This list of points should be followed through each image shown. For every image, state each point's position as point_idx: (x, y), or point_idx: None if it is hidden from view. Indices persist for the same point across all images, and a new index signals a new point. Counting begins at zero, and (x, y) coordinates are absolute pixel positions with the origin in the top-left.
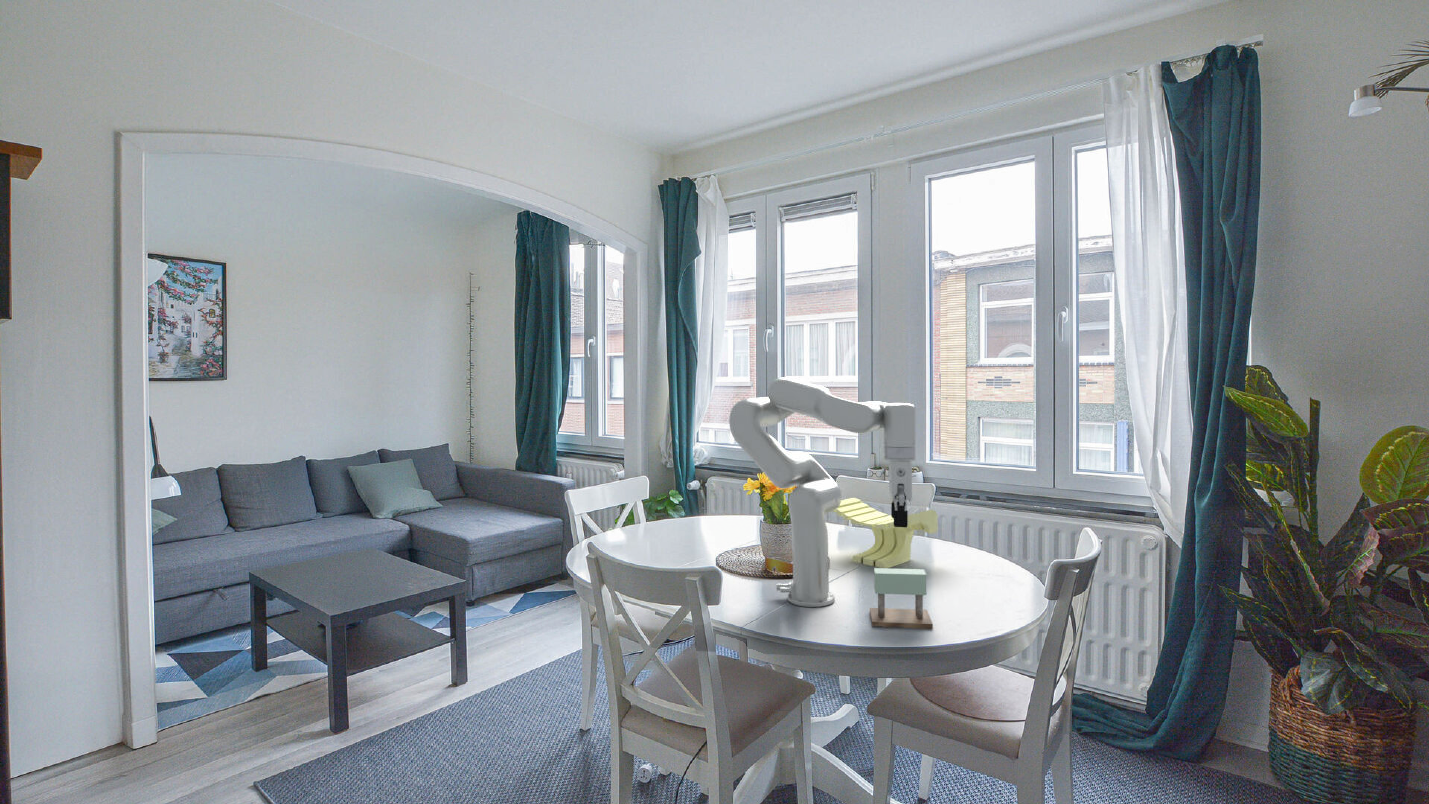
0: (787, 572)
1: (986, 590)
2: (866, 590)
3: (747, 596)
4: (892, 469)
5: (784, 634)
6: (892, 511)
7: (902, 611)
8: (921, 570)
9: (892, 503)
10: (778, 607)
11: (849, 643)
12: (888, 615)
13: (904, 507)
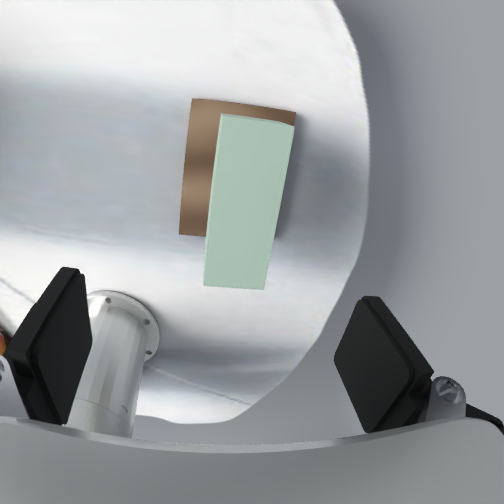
0: (3, 347)
1: None
2: (34, 218)
3: None
4: None
5: (290, 365)
6: (80, 373)
7: (204, 162)
8: (238, 128)
9: (61, 423)
10: (164, 373)
11: (343, 285)
12: None
13: (476, 409)
